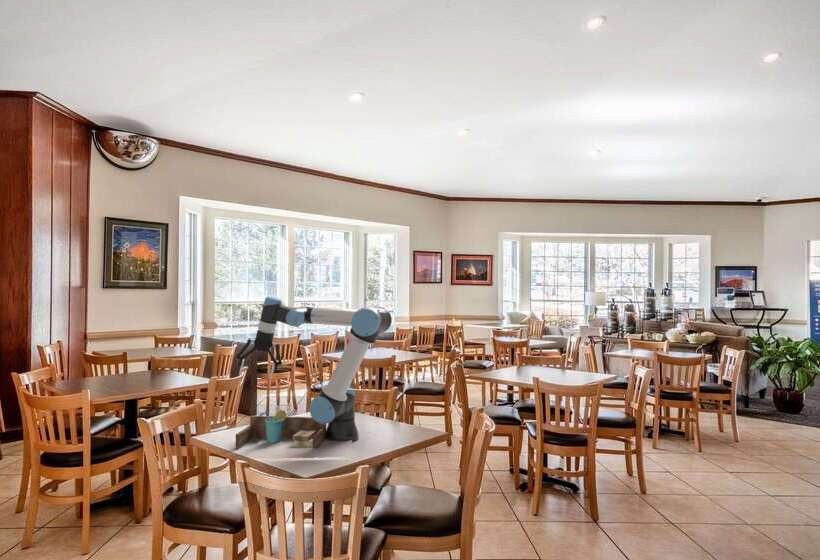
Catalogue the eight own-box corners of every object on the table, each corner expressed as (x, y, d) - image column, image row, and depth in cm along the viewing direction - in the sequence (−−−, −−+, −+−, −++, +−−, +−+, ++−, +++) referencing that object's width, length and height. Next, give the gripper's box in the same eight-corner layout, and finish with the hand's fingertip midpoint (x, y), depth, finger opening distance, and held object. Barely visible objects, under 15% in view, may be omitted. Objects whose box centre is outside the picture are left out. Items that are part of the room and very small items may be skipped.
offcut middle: (315, 439, 239) (315, 434, 239) (312, 446, 228) (312, 441, 228) (297, 439, 239) (297, 434, 239) (293, 446, 228) (293, 441, 228)
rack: (326, 439, 242) (326, 417, 242) (316, 451, 225) (316, 426, 225) (251, 437, 245) (251, 415, 245) (235, 448, 228) (235, 424, 228)
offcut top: (316, 435, 238) (316, 430, 238) (308, 441, 228) (308, 436, 228) (301, 434, 239) (301, 430, 239) (292, 440, 229) (292, 435, 229)
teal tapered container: (266, 449, 226) (266, 413, 227) (253, 446, 231) (253, 411, 231) (290, 442, 238) (290, 407, 239) (277, 439, 242) (277, 405, 243)
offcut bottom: (318, 443, 239) (318, 438, 239) (311, 451, 226) (311, 447, 226) (298, 442, 240) (298, 438, 240) (290, 451, 227) (290, 446, 227)
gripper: (292, 333, 251) (282, 377, 252) (237, 324, 243) (227, 369, 244) (294, 337, 244) (283, 382, 245) (237, 327, 236) (226, 374, 237)
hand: (255, 376), depth 245 cm, fingers open, 13 cm apart
